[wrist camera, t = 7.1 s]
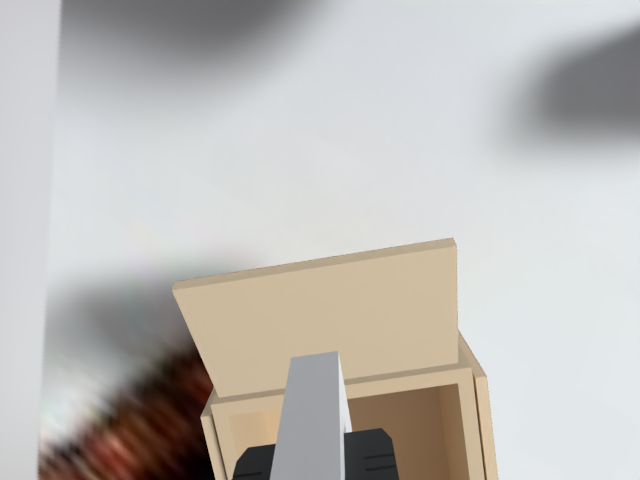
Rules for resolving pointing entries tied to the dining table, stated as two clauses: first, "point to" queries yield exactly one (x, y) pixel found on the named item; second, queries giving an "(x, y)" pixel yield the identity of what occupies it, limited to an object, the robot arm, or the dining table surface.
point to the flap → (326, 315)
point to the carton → (381, 420)
